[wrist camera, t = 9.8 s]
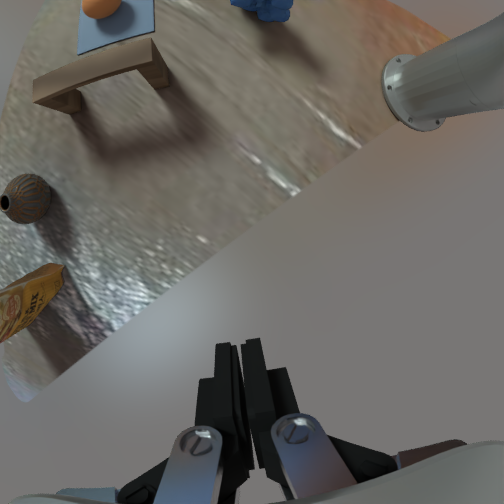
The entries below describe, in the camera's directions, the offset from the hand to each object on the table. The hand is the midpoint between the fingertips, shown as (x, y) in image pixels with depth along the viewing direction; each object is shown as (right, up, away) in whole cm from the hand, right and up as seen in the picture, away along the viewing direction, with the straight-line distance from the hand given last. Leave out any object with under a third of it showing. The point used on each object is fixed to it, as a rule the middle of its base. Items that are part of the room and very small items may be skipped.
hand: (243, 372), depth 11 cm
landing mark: (-20, +40, +18) cm, 48 cm away
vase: (-31, +13, +25) cm, 41 cm away
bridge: (-18, +26, +22) cm, 39 cm away
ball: (-21, +40, +15) cm, 47 cm away
